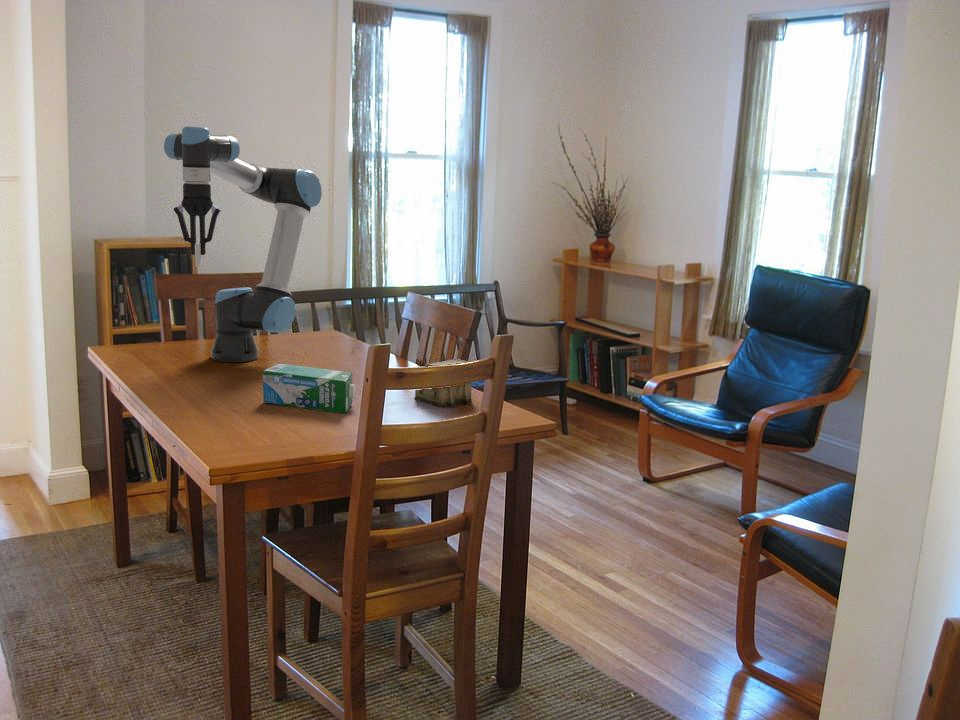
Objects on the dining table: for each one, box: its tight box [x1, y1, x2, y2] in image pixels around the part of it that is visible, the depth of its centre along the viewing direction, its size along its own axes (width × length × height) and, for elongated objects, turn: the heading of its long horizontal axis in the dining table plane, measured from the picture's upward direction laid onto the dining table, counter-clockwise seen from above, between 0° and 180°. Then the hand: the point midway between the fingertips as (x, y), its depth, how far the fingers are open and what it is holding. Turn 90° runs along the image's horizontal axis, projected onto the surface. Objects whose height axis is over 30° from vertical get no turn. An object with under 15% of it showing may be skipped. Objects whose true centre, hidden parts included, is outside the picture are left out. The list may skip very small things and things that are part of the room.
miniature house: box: [414, 358, 472, 409], centre depth 271 cm, size 15×14×11 cm
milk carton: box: [262, 362, 357, 414], centre depth 260 cm, size 9×9×25 cm
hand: (198, 266), depth 273 cm, fingers closed
